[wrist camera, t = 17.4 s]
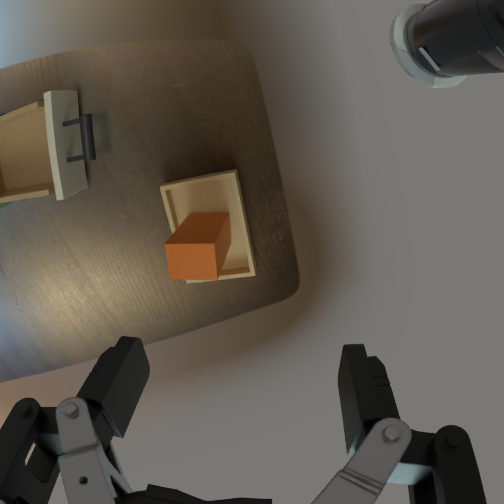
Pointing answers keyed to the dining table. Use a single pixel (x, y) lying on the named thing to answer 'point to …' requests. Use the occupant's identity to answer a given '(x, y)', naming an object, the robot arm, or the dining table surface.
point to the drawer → (45, 148)
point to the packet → (199, 246)
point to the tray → (214, 201)
